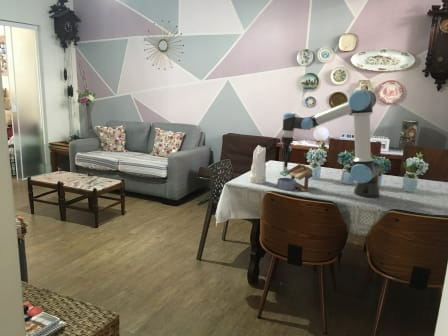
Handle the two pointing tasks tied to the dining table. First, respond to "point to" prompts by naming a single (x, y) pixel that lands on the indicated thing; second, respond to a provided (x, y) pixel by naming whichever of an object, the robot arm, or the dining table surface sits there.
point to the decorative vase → (258, 166)
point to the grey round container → (286, 183)
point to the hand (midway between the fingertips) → (284, 170)
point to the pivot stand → (301, 187)
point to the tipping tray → (298, 172)
